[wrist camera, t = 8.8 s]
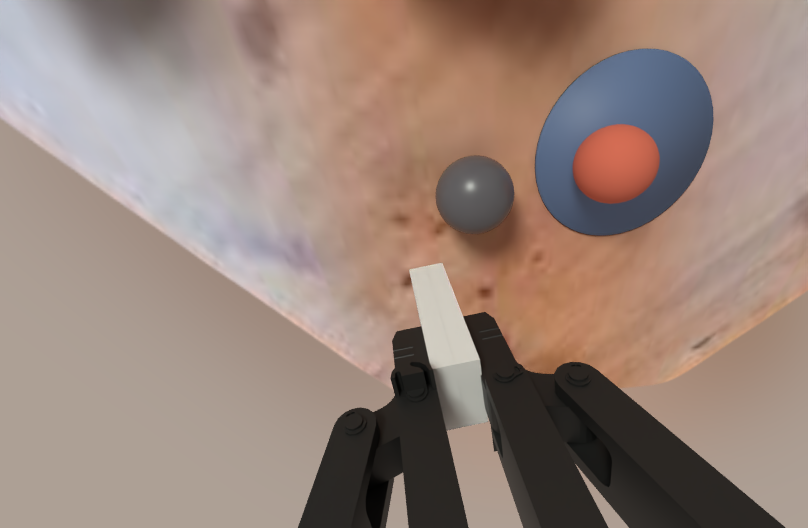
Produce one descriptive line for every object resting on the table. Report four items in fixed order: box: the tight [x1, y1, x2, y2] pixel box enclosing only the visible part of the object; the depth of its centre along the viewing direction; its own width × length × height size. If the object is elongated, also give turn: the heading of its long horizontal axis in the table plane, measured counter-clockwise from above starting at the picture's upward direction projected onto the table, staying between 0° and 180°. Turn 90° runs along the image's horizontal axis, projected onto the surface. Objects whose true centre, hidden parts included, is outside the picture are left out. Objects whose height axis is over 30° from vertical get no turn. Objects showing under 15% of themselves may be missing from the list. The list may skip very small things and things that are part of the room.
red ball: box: [573, 124, 660, 204], centre depth 29 cm, size 6×6×6 cm
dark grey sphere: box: [436, 156, 514, 234], centre depth 29 cm, size 6×6×6 cm
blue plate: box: [535, 49, 713, 235], centre depth 31 cm, size 14×14×1 cm
